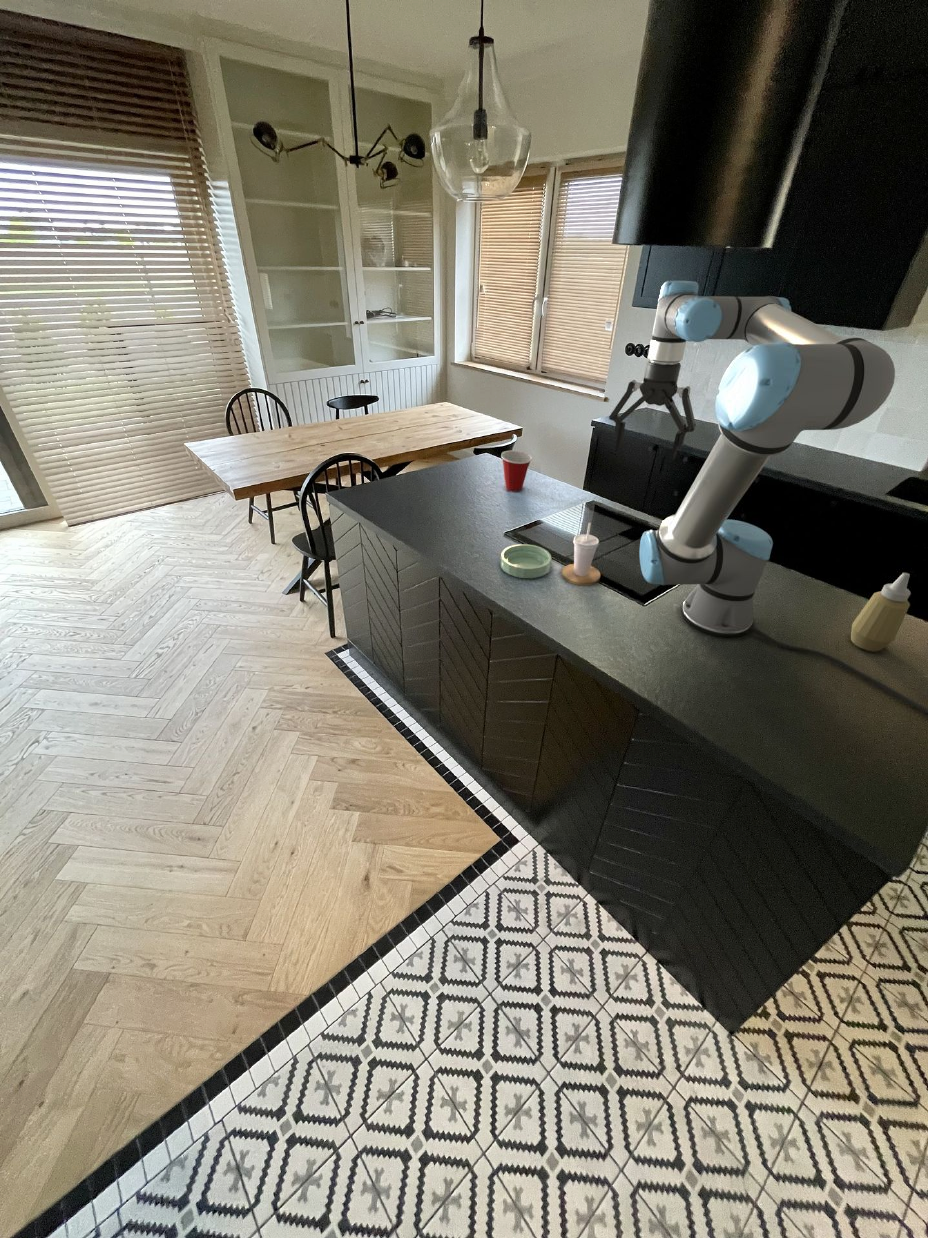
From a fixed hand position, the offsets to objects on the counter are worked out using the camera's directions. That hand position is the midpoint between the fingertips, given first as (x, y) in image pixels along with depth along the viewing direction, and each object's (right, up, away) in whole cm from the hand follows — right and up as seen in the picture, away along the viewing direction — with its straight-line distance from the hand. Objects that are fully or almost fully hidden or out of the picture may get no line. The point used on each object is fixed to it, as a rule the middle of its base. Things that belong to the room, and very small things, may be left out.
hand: (644, 454), depth 133 cm
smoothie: (-14, -29, +7) cm, 33 cm away
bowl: (-29, -27, +11) cm, 41 cm away
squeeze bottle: (+44, -47, -15) cm, 66 cm away
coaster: (-14, -30, +8) cm, 34 cm away
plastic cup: (-27, +5, +56) cm, 62 cm away
